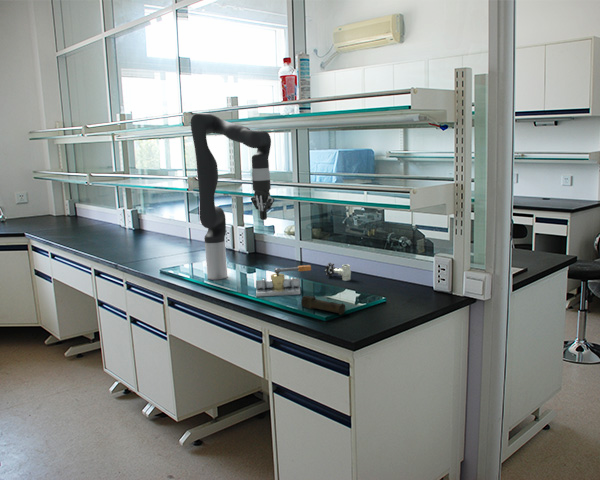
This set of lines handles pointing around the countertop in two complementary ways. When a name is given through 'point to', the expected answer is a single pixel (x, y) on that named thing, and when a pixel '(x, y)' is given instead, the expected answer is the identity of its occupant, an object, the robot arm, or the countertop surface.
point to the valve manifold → (278, 286)
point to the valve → (339, 271)
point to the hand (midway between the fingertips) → (263, 219)
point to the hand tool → (322, 305)
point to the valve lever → (294, 269)
